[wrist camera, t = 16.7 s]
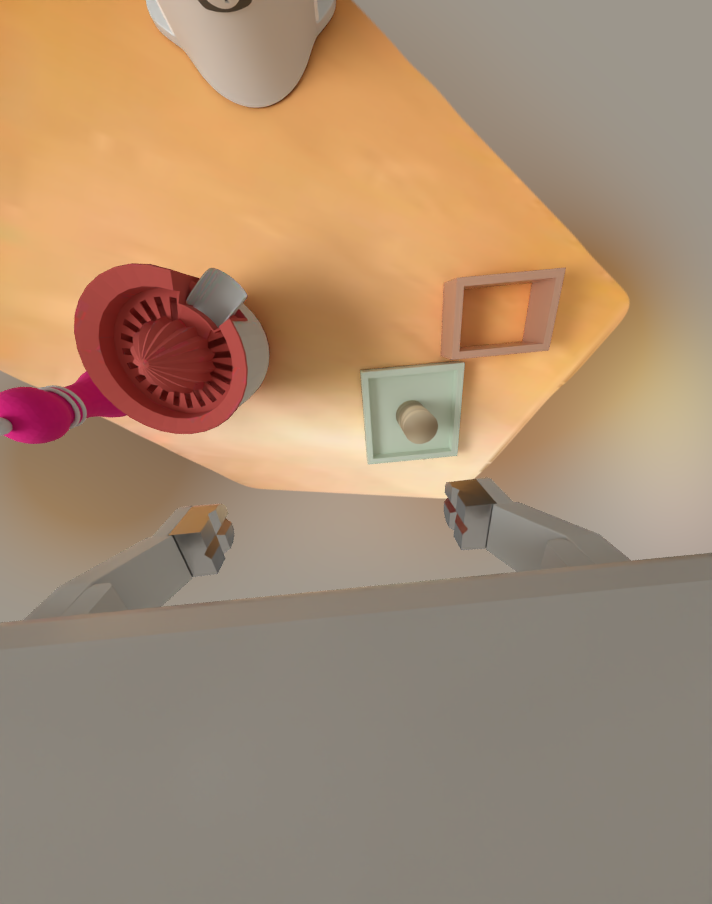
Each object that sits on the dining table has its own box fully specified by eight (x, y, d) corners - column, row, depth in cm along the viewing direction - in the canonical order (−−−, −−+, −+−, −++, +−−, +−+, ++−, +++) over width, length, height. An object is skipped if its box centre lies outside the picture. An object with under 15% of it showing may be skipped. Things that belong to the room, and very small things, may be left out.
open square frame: (443, 283, 39) (456, 277, 35) (540, 273, 40) (565, 267, 35) (440, 355, 44) (451, 359, 39) (527, 347, 44) (548, 350, 39)
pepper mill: (123, 351, 41) (-47, 373, 23) (167, 385, 44) (44, 429, 26) (101, 385, 43) (-72, 429, 25) (144, 416, 46) (15, 477, 28)
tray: (360, 370, 44) (361, 372, 42) (458, 360, 44) (464, 362, 42) (366, 458, 51) (368, 464, 49) (452, 450, 51) (457, 455, 49)
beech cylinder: (395, 401, 46) (404, 413, 39) (425, 398, 46) (438, 410, 39) (396, 429, 48) (404, 445, 42) (424, 427, 48) (437, 442, 42)
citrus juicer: (308, 331, 41) (282, 337, 23) (246, 415, 47) (186, 474, 28) (213, 247, 37) (87, 173, 18) (156, 351, 42) (14, 374, 24)
